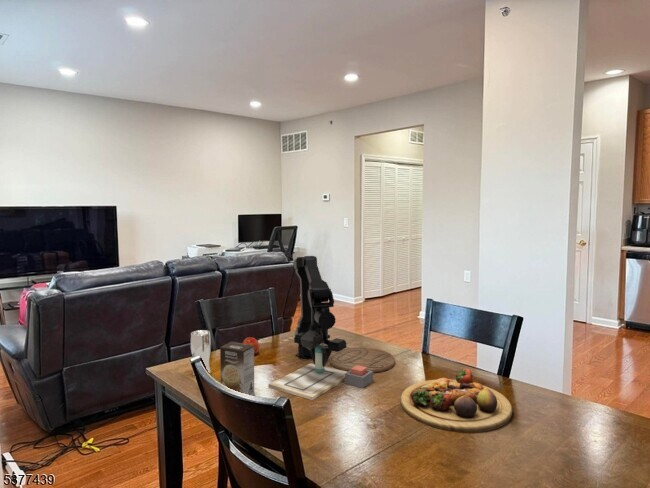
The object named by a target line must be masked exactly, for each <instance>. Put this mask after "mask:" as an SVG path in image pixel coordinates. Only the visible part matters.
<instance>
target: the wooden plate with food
mask: <svg viewBox="0 0 650 488" xmlns="http://www.w3.org/2000/svg"><path fill="white" fill-rule="evenodd" d="M473 377H474V376H473V373H472V371H471V369H469V368H464V369H463V368H462V369H461V371H460V370H457V371H456V375H455V377H454V379H451V378H446V377H439V378H438V379H429V380H423V381H419V382H416V383H413V384H412V385H410V386H408V387H407V388H406V389H404V390H403V391H402V393H401V396H400V399H399V400H400V406H401V408H402V409H403V411H404V412H405V413H406V414H407V415H408V416H409V417H411V418H412V419H414V420H416V421H418V423H422V424H423V425H426V426H429V427H430V428H431V427H433V428H435V429H439V430H443V431H449V432H455V433H469V434H470V433H471V434H472V433H485V432H488V431H489V432H490V431H494V430H495V429H499V428H500V427H502V426H504V425H506V424H507V423H508V422H509V421H510V419H511V417H512V415H513V406H512V404H511V402H510V401H509V399H508V398H507V397H506V396H505V395H503V394H502V393H501V392H499V391H497V390H495V389H494V388H491V387H488V386H486V385H484V384H482V383H480V382H476V381H475V382H474V380H473Z"/></svg>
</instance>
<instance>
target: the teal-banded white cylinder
mask: <svg viewBox="0 0 650 488" xmlns="http://www.w3.org/2000/svg"><path fill="white" fill-rule="evenodd" d="M322 348H324V345H322V344H320V345H316V346H315V372H317V373H322V372H324V371H325V367H323V363H322V351H321V350H320V349H322Z"/></svg>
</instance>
